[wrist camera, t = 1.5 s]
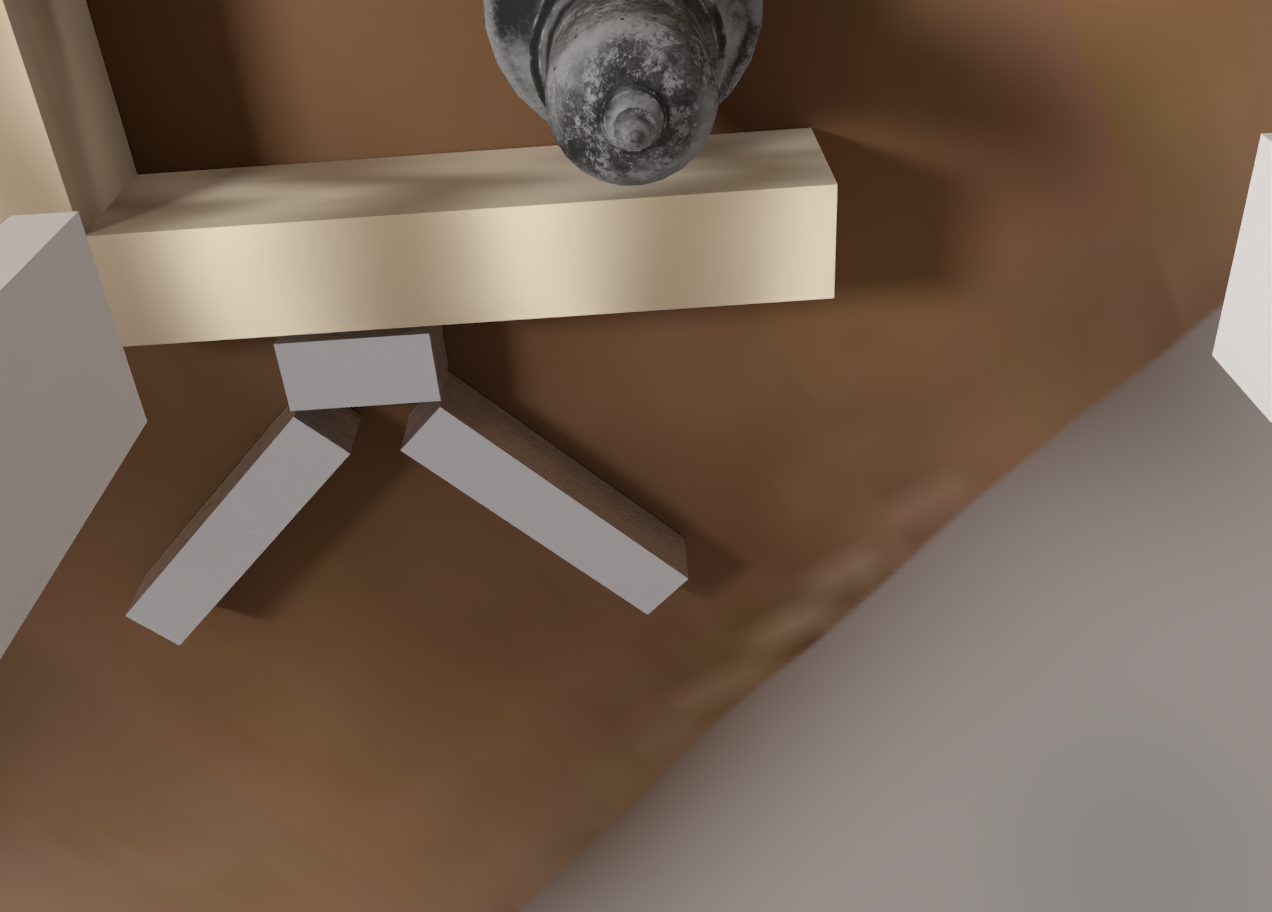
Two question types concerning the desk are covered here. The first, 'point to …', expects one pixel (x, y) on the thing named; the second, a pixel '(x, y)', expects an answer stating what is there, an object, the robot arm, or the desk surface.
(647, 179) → the grey tall rounded piece
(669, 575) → the v block
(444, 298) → the bracket
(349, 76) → the desk surface
